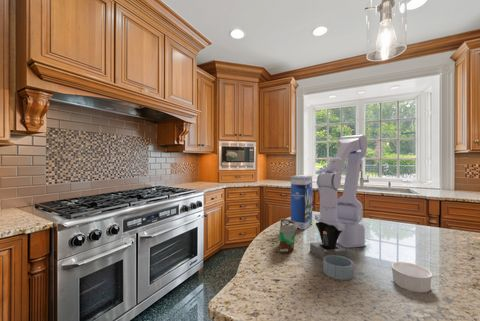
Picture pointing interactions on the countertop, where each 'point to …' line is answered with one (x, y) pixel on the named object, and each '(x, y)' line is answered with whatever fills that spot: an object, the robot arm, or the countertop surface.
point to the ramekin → (412, 277)
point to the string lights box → (301, 200)
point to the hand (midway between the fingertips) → (328, 245)
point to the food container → (287, 236)
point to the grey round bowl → (338, 267)
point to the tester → (321, 252)
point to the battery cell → (325, 241)
